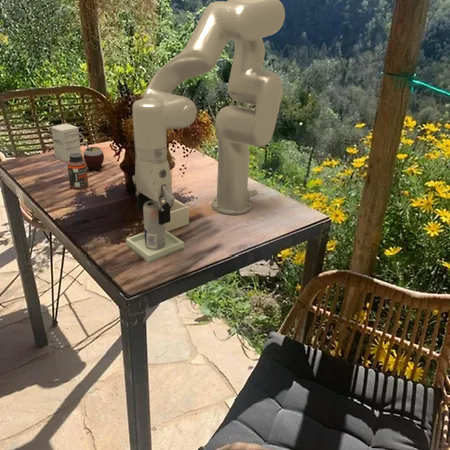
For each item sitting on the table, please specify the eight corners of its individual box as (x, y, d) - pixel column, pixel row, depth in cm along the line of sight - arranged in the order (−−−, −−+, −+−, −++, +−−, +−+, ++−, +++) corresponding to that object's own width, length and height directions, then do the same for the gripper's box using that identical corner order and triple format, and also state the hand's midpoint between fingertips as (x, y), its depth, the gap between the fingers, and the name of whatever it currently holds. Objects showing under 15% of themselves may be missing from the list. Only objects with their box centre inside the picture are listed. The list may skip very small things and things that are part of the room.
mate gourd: (108, 169, 168) (105, 130, 161) (90, 175, 163) (86, 134, 156) (96, 164, 172) (92, 126, 165) (78, 170, 167) (73, 130, 160)
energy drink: (155, 237, 124) (154, 197, 118) (169, 244, 121) (168, 204, 115) (140, 245, 120) (138, 204, 115) (154, 252, 117) (153, 210, 112)
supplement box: (55, 158, 177) (50, 126, 171) (71, 153, 182) (67, 122, 176) (65, 162, 173) (61, 130, 167) (82, 158, 178) (78, 126, 172)
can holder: (172, 213, 138) (172, 197, 136) (188, 223, 133) (188, 207, 130) (149, 221, 134) (149, 204, 131) (165, 232, 128) (165, 214, 126)
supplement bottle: (81, 191, 151) (77, 158, 145) (66, 188, 152) (62, 156, 147) (91, 184, 156) (88, 153, 150) (77, 182, 157) (73, 150, 152)
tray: (160, 232, 128) (160, 226, 127) (183, 248, 121) (183, 242, 120) (126, 245, 121) (125, 238, 120) (148, 262, 114) (148, 256, 113)
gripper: (185, 159, 105) (185, 224, 113) (144, 140, 116) (147, 200, 124) (158, 166, 101) (160, 233, 109) (118, 146, 112) (123, 208, 120)
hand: (153, 216), depth 117 cm, fingers open, 9 cm apart
